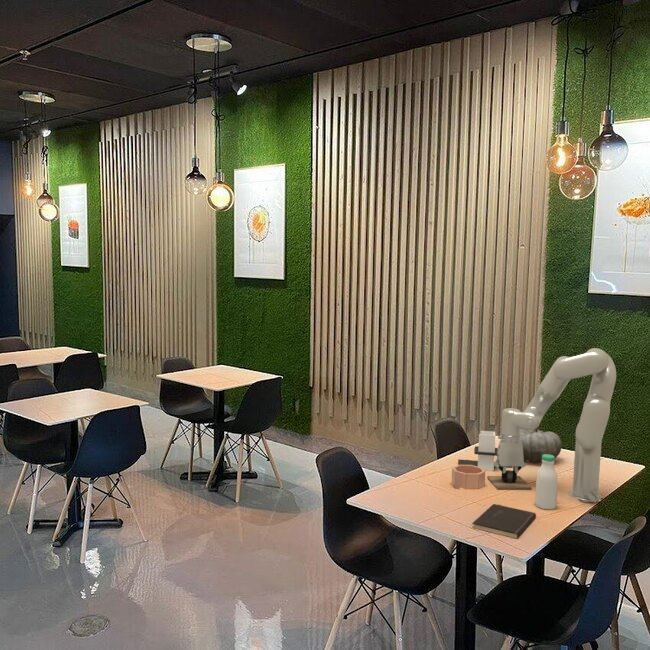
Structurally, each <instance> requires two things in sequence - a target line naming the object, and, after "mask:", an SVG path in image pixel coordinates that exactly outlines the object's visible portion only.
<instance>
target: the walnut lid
mask: <svg viewBox="0 0 650 650" xmlns="http://www.w3.org/2000/svg"><path fill="white" fill-rule="evenodd" d="M506 473H507V482H506V483H505V482H504V481H503V480H502V475H487V479H488V481H489V482H490V483H491V484H492V485H493V486H494V488H495V489H496V490H497V491H532V487H531V485H529V484H528V483H527V482H526V481H525V480H524V479H523V478H522V477H521V476H520V475H517V480H516V482H515V483H514V482H513V470H510V469H506Z"/></svg>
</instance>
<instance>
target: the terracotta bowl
mask: <svg viewBox="0 0 650 650" xmlns="http://www.w3.org/2000/svg"><path fill="white" fill-rule="evenodd" d="M451 485H452V487H453V488H454V489H457V490H461V489H464V490H479V489H482V488H483V487H485V485H486V470H484V469H483V468H481V467H477V466H473V465H458V464H457V465H455V466H452V467H451ZM460 488H461V489H460Z"/></svg>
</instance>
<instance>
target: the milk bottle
mask: <svg viewBox="0 0 650 650" xmlns="http://www.w3.org/2000/svg"><path fill="white" fill-rule="evenodd" d="M555 459H556V458H555V457H554V456H553V455H549V454H544V455H542V462H541V466H540V468H539V469H538V471H537V474H536V483H535V497H534V498H535V499H534V500H535V501H534V505H535V506H536V507H537V508H539V509H543V510H549V511H550V510H555V509H556V508H557V503H558V501H557V499H558V498H557V497H558V481H559V480H558V472H557V471H556V467H555Z"/></svg>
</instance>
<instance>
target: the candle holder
mask: <svg viewBox="0 0 650 650" xmlns="http://www.w3.org/2000/svg"><path fill="white" fill-rule="evenodd" d="M473 451H474V452H473V453H474V455H477V460H472V459H471V460H470V459H459V458H458V459H457V465H473V466H477V467H481V468H483V469H484V471H489V472H490V471H492V472H493V471H494V470H495V469H498V468H497V467H495V466H494V463H495V457H497V452H498V447H496V432H495V431H492V430H491V431H489V430H480V433H479V434H478V446H474V448H473ZM498 465H500V464H498ZM500 466H501V465H500ZM506 469H513V467H506Z"/></svg>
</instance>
